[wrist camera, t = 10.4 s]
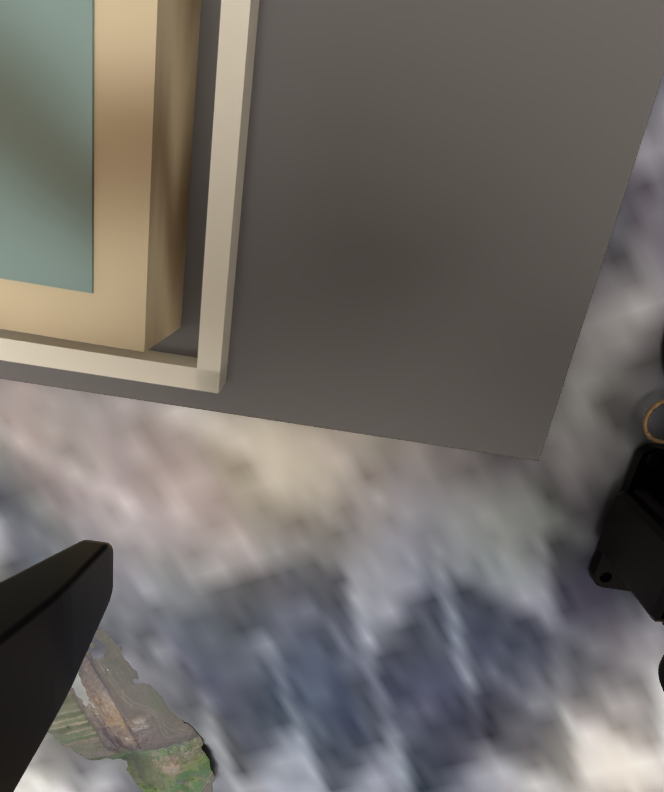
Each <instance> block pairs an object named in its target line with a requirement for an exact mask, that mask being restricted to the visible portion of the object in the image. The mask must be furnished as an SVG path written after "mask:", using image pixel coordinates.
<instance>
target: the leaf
mask: <svg viewBox="0 0 664 792" xmlns="http://www.w3.org/2000/svg"><path fill="white" fill-rule="evenodd" d="M94 637H95V638H96V639H97V640H99V641H100V642H101V643H102V644H104V645H105V646H106V647H107V648H106V650H105V651H104V657H102V658H100V659H94V660H93V659H92V656H91V653H90V652H88V651H87V653H86V655H85V657H84V660H83V662H82V664H81V666H80V669H79V673H78V674H79V676H80V678H81V683H82V685H83V686H84V687H85V689H86V692H87V696H88V697H89V702H90V703H93V704H94V706H95V709H94V708H92V706H91V704H88V706H87V707H85V706H84V705H83V701H82V699H80V698H78V697H77V696H76V694H75V691H74V689H73V688H72V687H71V689H70V691H69V693H68V695H67V697H66V699H65V701H64V703H63V705H62V707H61V709H60V710H59V712H58V714H57V716H56V718H55V720H54V721H53V723H52V725H51V727H50V728H49V730H48V732H49V733H51V734H53V736H54V737H55V738H56V739H58V740H59V741H60V743H61V744H62V745H64V746H66V747H68V748H70V749H72V750H74V751H75V752H76V753H78V754H80V755H82V756H83V757H84V758H85V759H89V760H100V759H103V758H110V759H118V758H121V759H123V760H126V761H127V764H128V767H127V771H128V772H129V773H130V775H131V776H132V778H133V779H134V781H135V782H136V783H137V785H138V786H139V787H140V788H141V790H142V791H143V792H213V787H212V783H213V782H214V781H215V778H214V774H213V772H212V771H211V769H210V761H209V759H208V757H207V756H206V754H205V752H203V750H202V749H201V747H202V746H203V741H202V739H201V737H200V736H199V735H198V734H197V733H196V732H195V731H194V729H193V728H192V727H191V726H190V725H189V724H187V723H186V724H185V723H184V721H183V720H181V719H179V718H178V717H177V716H176V715H175V714H174V713H173V712H172V711H171V710H170V709H169V708H168V707H167V705H166V703H165V701H164V700H163V698H162V697H161V696H160V695H159V694H158V692H157V691H156V690H155V689H154V688H153V687H152V686H150V685H149V684H145V683H140V684H134V683H133V680H132V679H139V677H138V674H137V672H136V671H135V670H134V669H133V668H132V667H131V666H130V665H129V663H128V662H127V661H126V660H125V659H124V658H123V656H122V648H121V647H120V646H118V645H117V644H116V643H115V642H114V641H113V640H111V638H110V637H109V635H108V633H107V632H106V631H105V630H104V629H102V628H101V629H99V630H96V633H95V635H94ZM90 646H91V647H92V649H93V647H94V646H95V644H94V643H92V642H91V644H90ZM107 668H108V669H109V671H106V670H107ZM95 713H98V714H97V715H95Z"/></svg>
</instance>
